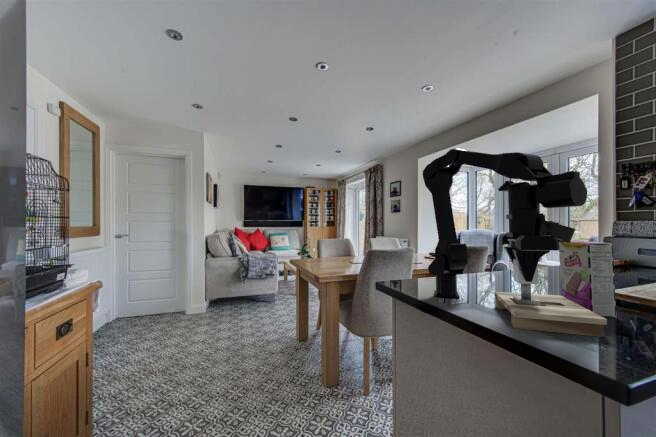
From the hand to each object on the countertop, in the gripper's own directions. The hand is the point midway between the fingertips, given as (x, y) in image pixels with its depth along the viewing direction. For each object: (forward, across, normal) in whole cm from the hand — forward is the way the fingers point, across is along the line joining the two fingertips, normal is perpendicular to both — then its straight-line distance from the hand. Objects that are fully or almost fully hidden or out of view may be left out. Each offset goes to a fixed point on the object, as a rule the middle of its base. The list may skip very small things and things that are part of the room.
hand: (525, 279), depth 61 cm
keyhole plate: (+8, 0, -3) cm, 9 cm away
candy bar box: (+8, +11, -15) cm, 20 cm away
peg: (+6, 0, 0) cm, 6 cm away
